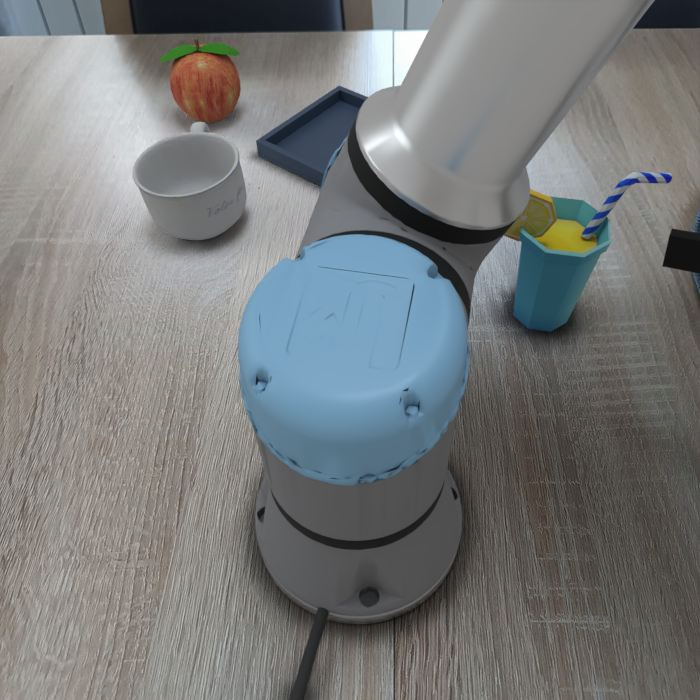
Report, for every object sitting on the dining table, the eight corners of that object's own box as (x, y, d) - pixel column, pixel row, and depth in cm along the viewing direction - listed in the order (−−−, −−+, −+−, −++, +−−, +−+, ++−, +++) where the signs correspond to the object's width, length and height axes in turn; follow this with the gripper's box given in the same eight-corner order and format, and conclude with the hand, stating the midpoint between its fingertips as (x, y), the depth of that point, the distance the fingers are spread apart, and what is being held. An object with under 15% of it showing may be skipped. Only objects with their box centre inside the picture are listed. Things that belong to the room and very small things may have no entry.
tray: (372, 212, 72) (372, 197, 71) (257, 155, 79) (255, 140, 78) (451, 146, 80) (452, 130, 78) (339, 100, 87) (339, 85, 85)
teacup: (233, 260, 68) (219, 198, 62) (135, 248, 69) (112, 186, 63) (270, 179, 76) (261, 117, 70) (182, 170, 78) (166, 108, 72)
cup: (601, 271, 66) (651, 139, 54) (636, 328, 61) (699, 198, 49) (466, 291, 64) (487, 161, 53) (491, 351, 59) (520, 223, 48)
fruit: (243, 133, 82) (229, 56, 75) (168, 134, 83) (147, 57, 75) (251, 96, 88) (239, 21, 80) (180, 97, 88) (162, 22, 80)
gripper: (1061, 450, 34) (637, 344, 44) (1038, 173, 47) (712, 137, 56) (1167, 360, 29) (655, 261, 38) (1109, 73, 41) (734, 51, 51)
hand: (688, 187), depth 47 cm, fingers open, 13 cm apart
